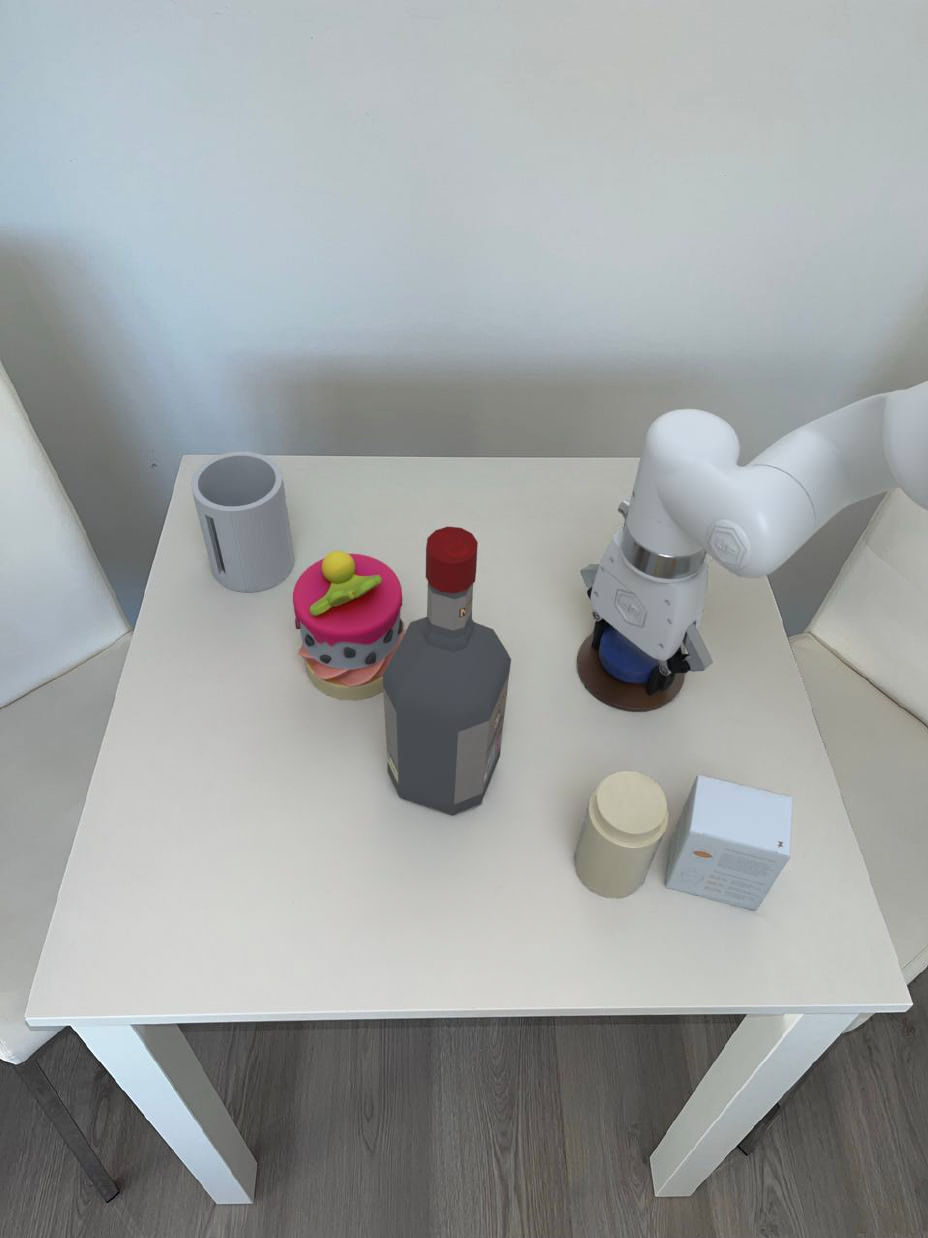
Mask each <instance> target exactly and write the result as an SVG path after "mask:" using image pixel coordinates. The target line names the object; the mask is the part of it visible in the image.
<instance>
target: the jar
mask: <svg viewBox="0 0 928 1238" xmlns="http://www.w3.org/2000/svg"><path fill="white" fill-rule="evenodd" d="M667 802H668V800H667V797H666V795H665V792H664V790H663V789H662V787H661V786H660V785H659V784H658V783H657V782H656V781H655V780H654V779H653V778H651V777H650V776H648V775H646V774H644V773H641V772H639V771H633V770H621V771H614V772H613V773H611V774H609V775H606V776H605V777H603V779H602V780H600V782H599V783H598V785H597V786H596V787H595V789H594V790H593V791H592V793H591V795H590V798H589V799H588V804H587V808H586V813H585V815H584V819H583V822H582V826H581V830H580V834H579V837H578V841H577V845H576V848H575V852H574V857H573V863H574V868H575V869H574V870H575V872H576V875H577V876H578V878H579V880H580V881H581V883H582V884H583V885H584V886H585V888H587V889H588V890H589V891H591V892H592V893H594V894H596V895H598V896H600V897H604V898H607V899H621V898H625V897H628V896H631V895H632V894H634V893H636V892H637V891H638V890H639V889H640V888H641V887H642V885H643V884H644V883H645V880H646V878H647V875H648V873H649V871H650V868H651V866H652V864H653V861H654V859H655V856H656V854H657V851H658V848H659V846H660V845H661V842H662V840H663V837H664V836H665V835H664V834H665V832H666V829H667V827H668V823H669V811H668V803H667Z"/></svg>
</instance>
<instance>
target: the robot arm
mask: <svg viewBox="0 0 928 1238" xmlns="http://www.w3.org/2000/svg"><path fill="white" fill-rule="evenodd" d="M740 449H741V444H740V440H739V437H738V434H737V433H736V431H735V429H734V428H733V427H732V426H731V425H730V424H729V423H728V422H727V421H726V420H724V419H723V418H721V417H720V416H718V415H716V414H714V413H712V412H709V411H706V410H702V409H696V408H681V409H674V410H671V411H668V412H666V413H663V414H662V415H660V416H659V417H657V418H656V419H655V420H654V421H653V423H652V424H651V425H650V426H649V428H648V430H647V431H646V434H645V438H644V441H643V446H642V449H641V454H640V458H639V462H638V466H637V471H636V475H635V479H634V484H633V488H632V493H631V497H630V500H628V499H624V500H622V501H621V503H620V504H619V505H618V508H617V512H618V513H620V514H621V515H622V517H623V519H624V523H623V527H620V528H619V529H617V531H616V532H615V533H614V535H613V536H612V538H611V540H610V542H609V543H608V546H607V547H606V549H605V552H604V554H603V556H602V558H601V559H600V563H595V564H594V563H593V564H588V565H586V566H585V567H584V568H582V569H581V570H580V575H581V578H582V580H583V583H584V585H585V587H586V588H587V590H586V594H587V598H588V599H589V601H590V604H591V607H592V608H593V610H592V611H591V615H592V619H594V620H595V622H594V626H593V631H592V633H594V636H593V641H592V645H591V646H592V647H593V648H594V649H595V650H596V649H597V650H598V649H599V646H600V641H601V637H602V634H603V632H604V630H605V629H606V628H607V627H609V626H610V625H612V626H613V627H614V628H615V629H617V630H618V631H619V632H620V633H621V634H623V635H624V636H625V637H626V638H628V639H629V640H630V641H631V642H633V643H634V644H635V645H636V646H638V647H639V648H640V649H641V650H643V651H644V652H645V653H647V654H648V655H650V656H651V657H653V658H655V659H657V663H658V665H657V666H656V667H654V668H653V670H652V672H651V675H650V679H649V682H648V685H647V688H646V691H647V693H648V694H649V695H650V696H652V695H653V694H654V693H655V692H657V691H658V690H659V689H662V690H663V691H664V690H666V689H667V688H668V687H669V686H670V685H671V684H672V683H673V681H674V678H675V675H676V673H685V674H687V673H688V672H692V673H693V672H704V671H705V670H707V669H708V668H709V667H710V666H711V665H713V663H714V660H713V658H712V656H711V654H710V652H709V650H708V648H707V646H706V645H705V643H704V641H703V638H702V637H701V635H700V633H699V631H698V630H699V627H700V623H701V621H702V617H703V613H704V610H705V604H706V600H707V593H708V584H709V565H708V564H707V562H706V558H707V554H708V555H709V556H710V557H711V558H712V559H713V560H714V561H715V562H716V563H717V564H718V565H720V567H722V568H724V569H725V570H726V571H728V572H730V573H731V574H734V575H736V576H738V577H741V578H744V579H759V578H763V577H766V576H769V575H770V574H772V573H773V572H775V571H776V570H778V569H779V568H780V567H781V566H782V565H783V564H785V562H787V561H788V560H789V559H790V558H791V557H792V556H793V555H794V554H795V553H796V552H797V551H799V549H801V548H802V547H803V546H804V545H805V544H806V543H807V542H808V541H809V540H810V538H812V537H813V536H814V535H815V534H816V533H817V532H818V531H819V530H821V529H822V527H824V526H825V525H826V524H827V523H828V522H829V521H830V520H831V519H833V517H835V516H836V515H837V514H838V513H839V512H840V511H842V510H844V509H845V508H846V507H849V506H851V505H853V504H855V503H857V502H861V501H863V500H865V499H869V498H872V497H874V496H877V495H880V494H883V493H886V492H889V491H892V490H895V489H899V488H900V489H901V491H902V492H903V494H905V496H906V497H907V498H908V499H909V500H910V501H912V502H913V503H914V504H916V505H917V506H919V507H921V508H923V510H926V511H928V380H926V381H924V382H921V383H919V384H917V385H914V386H912V387H909V388H906V389H896V390H894V391H889V392H883V393H878V394H874V395H871V396H868V397H865V398H862V399H860V400H857V401H854V402H853V403H850V404H848V405H846V406H844V407H841V408H839V409H836V410H834V411H832V412H830V413H827V414H825V415H823V416H821V417H818V418H817V419H815V420H812V421H810V422H808V423H805V424H804V425H802V426H799V427H798V428H796V429H794V430H792V431H790V432H789V433H787V434H785V435H783V436H782V437H781V438H780V439H778V440H777V441H775V442H774V443H772V444H771V445H770V446H769V447H767V448H766V449H764V450H763V451H762V452H761V453H759V454H758V455H757V456H756V457H755V458H753V459H752V460H751V461H749V463H747V464H746V465H745V466H740V465H738V461H739V458H740V453H741V452H740V451H741V450H740ZM686 651H687V653H686Z"/></svg>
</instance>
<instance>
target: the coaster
mask: <svg viewBox="0 0 928 1238" xmlns="http://www.w3.org/2000/svg"><path fill="white" fill-rule="evenodd" d="M593 636H594V633H593V632H591V634H589V635H588V636H587V637H586V638H585V639H584V640H583V642H582V643H581V645H580V647H579V650H578V654H577V658H576V670H577V674H578V676H579V679H580V681H581V683H582V684H583V686H584V688H586V690H587V692H589V693H590V694H591V695H592V696H593V697H594V698H595V699H597V700H598V701H600V702H601V703H603V704H605V705H607V706H609V707H612V708H614V709H616V710H620V711H624V712H631V713H644V712H651V711H655V710H658V709H661V708H662V707H665V706H666V705H668V704H669V703H671V702H672V701H673V700H674V699H675V698H676V697H677V696H678V695H679V693H680V691H681V689H682V687H683V684H684V680H685V675H686V673H676V675H675V678H674V681H673V683H672V684H671V685H670V686H669V687H668V688H667V689H666V690H664V691H663V690H662V689H659V690H658V691H657V692H655V693H654V694H653V695H652V696H650V695H649V694H648V693H647V691H646V688H647V685H648V682H645V683H629V682H625V681H622V680H619V679H617V678H615V677H614V676H612V675H611V674H610V673H608V672H607V671H606V669H605V668H604V667H603V665H602V664H601V661H600V658H599V649H598V650H597V649H596V650H595V649H594V648H593V647H592V646H591V645H592V641H593Z"/></svg>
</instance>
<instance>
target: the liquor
mask: <svg viewBox="0 0 928 1238" xmlns="http://www.w3.org/2000/svg"><path fill="white" fill-rule="evenodd" d="M426 540H427V541H426V545H425V578H426V581H427V597H426V598H427V600H426V605H427V606H426V616H425V617H422V618H418V619H416V620H413V621H410V623H409V624H408V626H407V628H406V629H405V631H404V636H403V638H402V640H401V641H400V643H399V645H398V647H397V649H396V651H395V653H394V655H393V657H392V659H391V660H390V662H389V664H388V666H387V668H386V670H385V672H384V674H383V688H384V691H383V705H384V708H383V709H384V726H385V740H386V742H385V745H386V763H387V764H386V765H387V774H388V776H389V778H390V780H391V783H392V784H393V786H394V789H395V791H396V793H397V796H398V797H399V798H401V799H404V800H407V801H410V802H412V803H415V804H418V805H421V806H425V807H427V808H430V809H433V810H435V811H439V812H441V813H445V814H448V815H450V816H455V815H458V814H460V813H462V812H465V811H468V810H470V809H472V808H475V807H478V806H481V805H482V803H483V800H484V797H485V795H486V792H487V790H488V787H489V785H490V782H491V780H492V777H493V775H494V772H495V770H496V767H497V764H498V762H499V760H500V757H501V755H500V754H501V749H502V748H501V747H502V739H503V731H504V723H505V713H506V705H507V699H508V690H509V680H510V674H511V664H512V658H511V657H510V654H509V653H508V650H507V649H506V647H505V646H504V644H503V643H502V641H501V639H500V637H499V636H498V635H497V633H496V631H495V630H494V628H490V627H488V626H485V625H484V624H480V623H478V622H475V621H474V620H473V598H474V583H476V577H477V565H478V564H477V563H478V546H479V545H478V544H479V542H478V540H477V538H476V537H475V535H474V534H473V533H472V532H470V531H468V530H467V529H466V528H465V529H464V528H463V527H456V526H444V527H442V528H438V529H435V530H434V531H433V532H432V533H431V534H430V535H429V536H428V537H427V539H426Z"/></svg>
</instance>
